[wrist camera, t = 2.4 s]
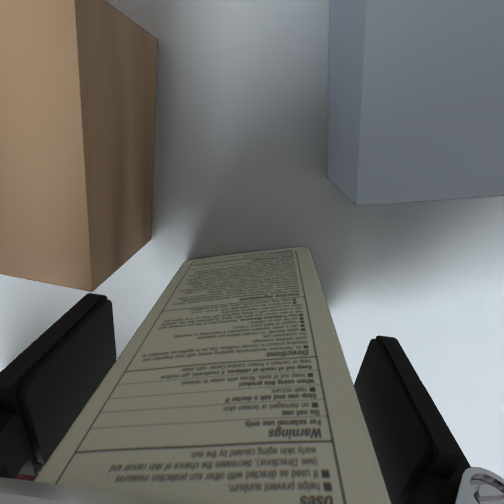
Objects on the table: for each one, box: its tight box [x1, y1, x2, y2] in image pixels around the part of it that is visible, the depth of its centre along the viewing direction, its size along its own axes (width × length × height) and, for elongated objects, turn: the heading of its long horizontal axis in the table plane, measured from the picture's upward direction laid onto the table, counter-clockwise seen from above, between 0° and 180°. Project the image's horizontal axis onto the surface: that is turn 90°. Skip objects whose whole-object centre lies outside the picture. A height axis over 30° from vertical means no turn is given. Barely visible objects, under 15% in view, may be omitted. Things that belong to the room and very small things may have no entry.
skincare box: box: [34, 247, 391, 504], centre depth 9 cm, size 6×4×12 cm
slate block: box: [327, 0, 504, 206], centre depth 8 cm, size 7×7×5 cm
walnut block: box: [0, 0, 158, 292], centre depth 10 cm, size 8×8×5 cm
